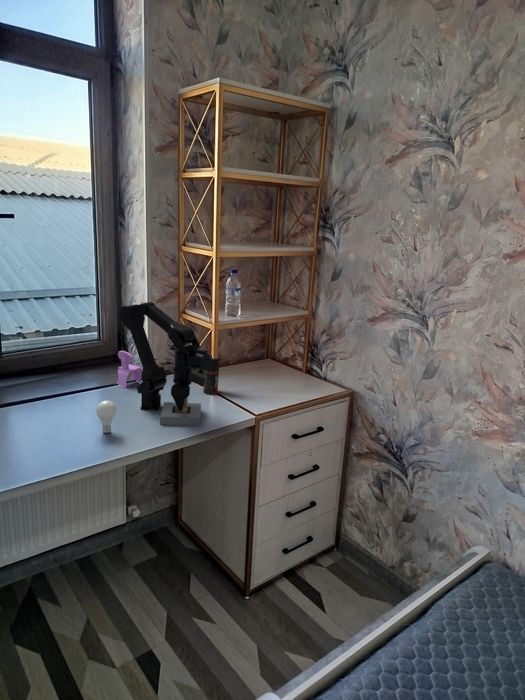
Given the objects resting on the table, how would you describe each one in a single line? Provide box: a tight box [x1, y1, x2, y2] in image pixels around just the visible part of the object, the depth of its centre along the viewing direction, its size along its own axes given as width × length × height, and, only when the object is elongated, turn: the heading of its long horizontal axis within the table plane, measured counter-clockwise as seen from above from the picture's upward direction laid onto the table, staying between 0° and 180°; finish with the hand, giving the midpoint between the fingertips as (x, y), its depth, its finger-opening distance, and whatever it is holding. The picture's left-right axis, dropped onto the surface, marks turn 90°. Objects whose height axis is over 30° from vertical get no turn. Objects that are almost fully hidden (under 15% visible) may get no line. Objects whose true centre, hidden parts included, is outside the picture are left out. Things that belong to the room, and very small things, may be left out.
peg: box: [174, 396, 189, 413], centre depth 176 cm, size 4×4×9 cm
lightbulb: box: [95, 399, 118, 434], centre depth 160 cm, size 6×6×11 cm
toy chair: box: [115, 350, 143, 388], centre depth 204 cm, size 8×9×15 cm
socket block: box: [159, 401, 202, 427], centre depth 176 cm, size 13×13×3 cm
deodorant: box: [202, 354, 220, 396], centre depth 202 cm, size 6×6×15 cm
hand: (181, 405), depth 176 cm, fingers open, 9 cm apart
